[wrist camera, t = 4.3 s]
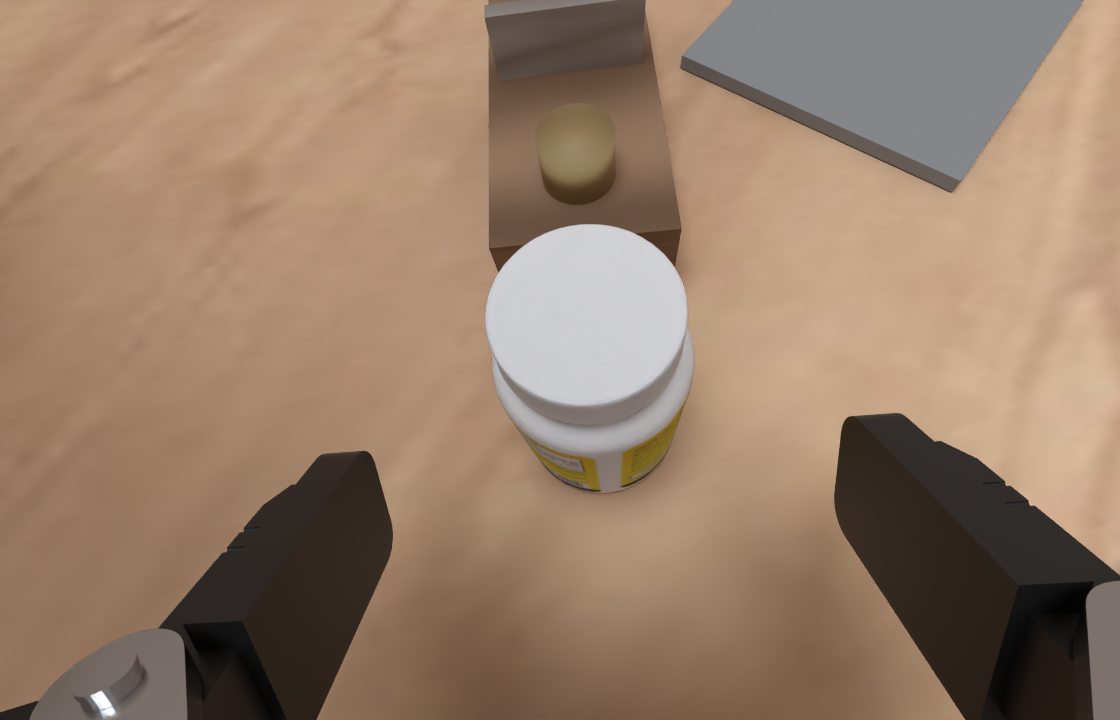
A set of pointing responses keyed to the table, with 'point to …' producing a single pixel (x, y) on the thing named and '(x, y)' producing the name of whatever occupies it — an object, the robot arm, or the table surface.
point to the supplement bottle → (591, 353)
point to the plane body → (575, 124)
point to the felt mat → (886, 70)
